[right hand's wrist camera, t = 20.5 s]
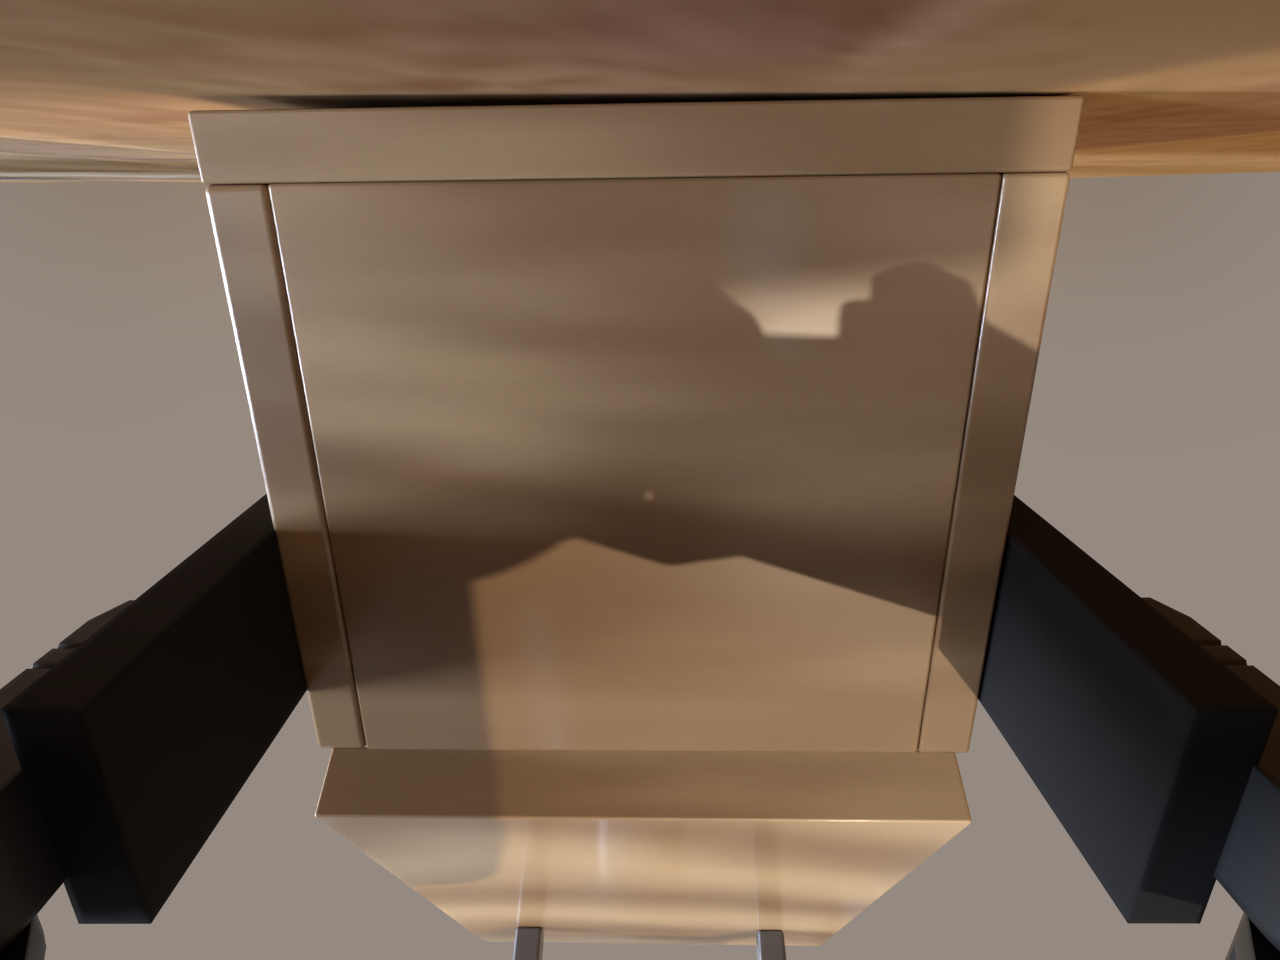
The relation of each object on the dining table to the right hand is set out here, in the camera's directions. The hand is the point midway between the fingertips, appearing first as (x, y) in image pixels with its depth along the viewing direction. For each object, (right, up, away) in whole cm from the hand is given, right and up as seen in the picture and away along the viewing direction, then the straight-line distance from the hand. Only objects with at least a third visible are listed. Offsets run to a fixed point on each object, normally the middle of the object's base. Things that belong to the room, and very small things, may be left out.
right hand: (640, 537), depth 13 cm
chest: (0, +8, +1) cm, 8 cm away
